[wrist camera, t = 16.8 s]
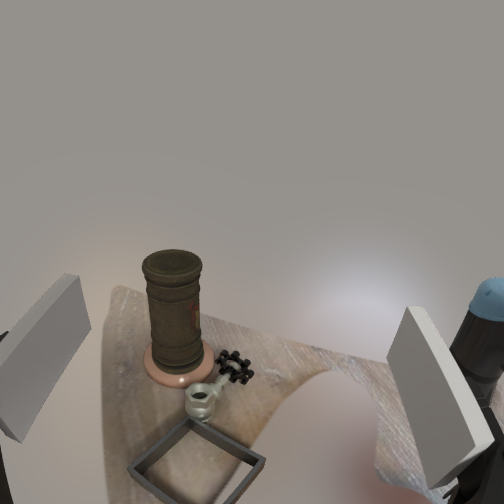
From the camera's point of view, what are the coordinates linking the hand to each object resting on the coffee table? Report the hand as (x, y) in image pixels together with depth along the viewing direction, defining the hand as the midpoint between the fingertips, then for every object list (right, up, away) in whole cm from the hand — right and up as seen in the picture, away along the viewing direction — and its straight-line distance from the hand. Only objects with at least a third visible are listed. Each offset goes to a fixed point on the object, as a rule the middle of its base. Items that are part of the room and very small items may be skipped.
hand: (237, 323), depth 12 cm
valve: (-5, -20, +33) cm, 39 cm away
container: (-12, -15, +39) cm, 43 cm away
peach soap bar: (-12, -16, +40) cm, 44 cm away
